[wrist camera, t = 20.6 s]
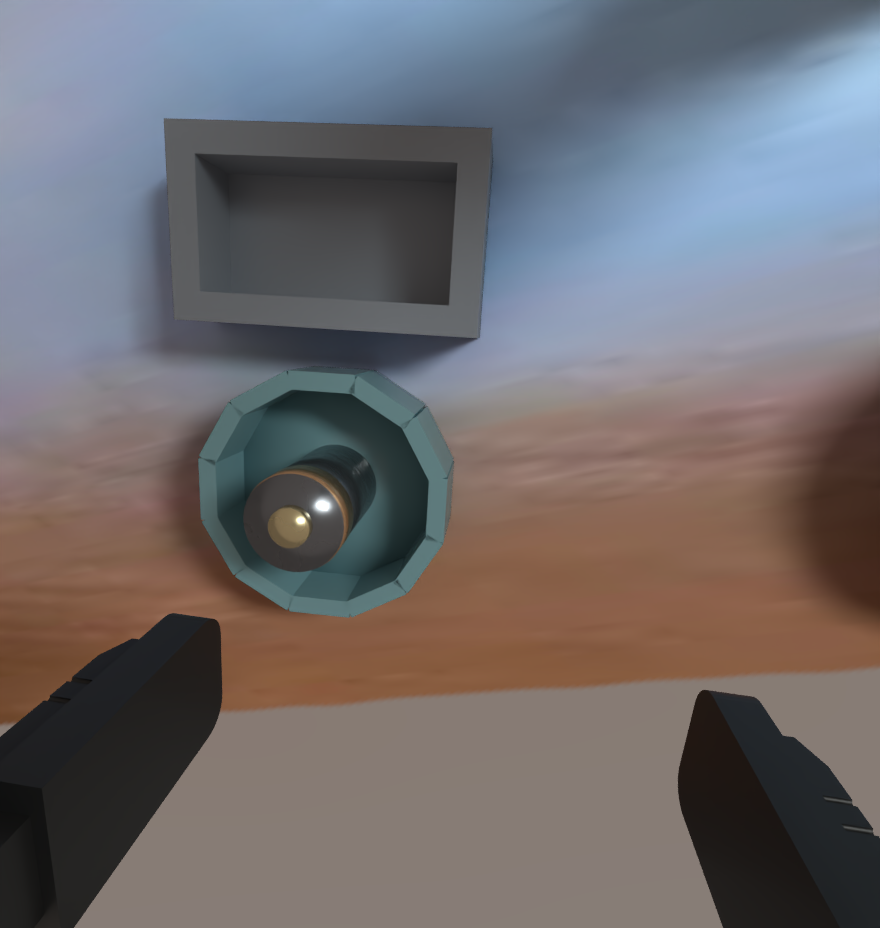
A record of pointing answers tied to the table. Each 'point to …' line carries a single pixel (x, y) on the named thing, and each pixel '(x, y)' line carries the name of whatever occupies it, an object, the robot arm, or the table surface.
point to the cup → (300, 432)
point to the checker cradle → (329, 224)
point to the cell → (309, 508)
